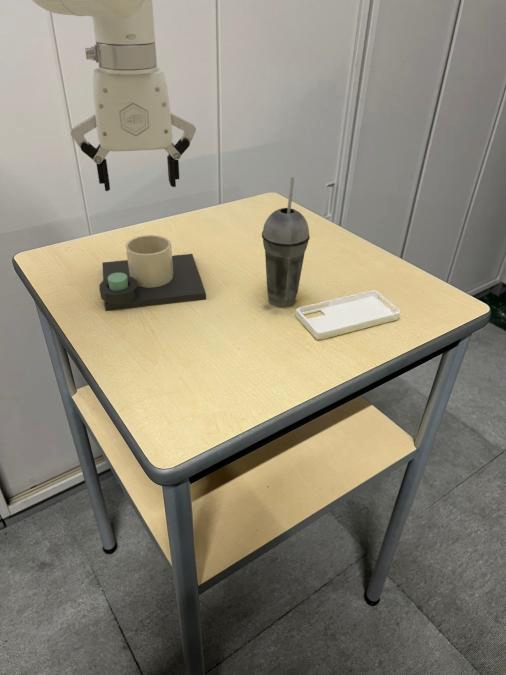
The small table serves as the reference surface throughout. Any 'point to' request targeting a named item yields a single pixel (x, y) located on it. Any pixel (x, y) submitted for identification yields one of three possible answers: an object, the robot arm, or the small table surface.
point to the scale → (177, 290)
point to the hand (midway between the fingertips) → (140, 185)
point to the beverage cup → (284, 253)
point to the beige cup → (150, 260)
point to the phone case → (347, 314)
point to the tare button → (117, 281)
